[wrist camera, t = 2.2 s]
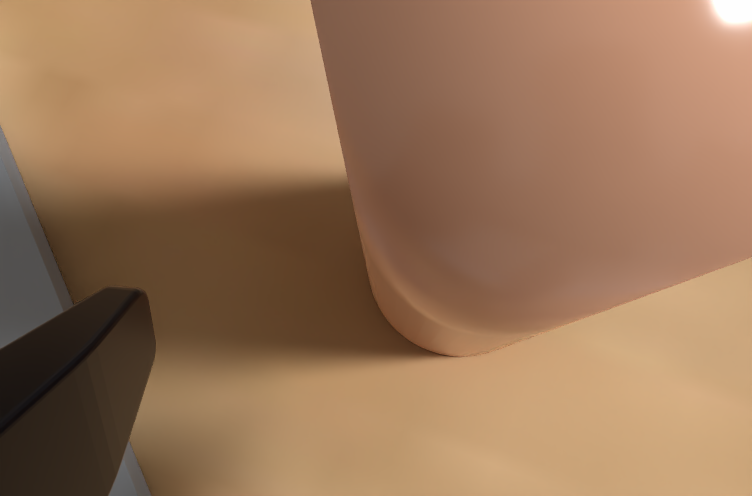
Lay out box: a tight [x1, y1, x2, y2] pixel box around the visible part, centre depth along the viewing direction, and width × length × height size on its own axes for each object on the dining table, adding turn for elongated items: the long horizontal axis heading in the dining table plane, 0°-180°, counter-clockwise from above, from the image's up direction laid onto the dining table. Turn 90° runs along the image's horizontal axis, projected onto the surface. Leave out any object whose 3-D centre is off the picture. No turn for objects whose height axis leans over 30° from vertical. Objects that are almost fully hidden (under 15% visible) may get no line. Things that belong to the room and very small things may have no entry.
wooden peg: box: [311, 0, 752, 357], centre depth 12 cm, size 5×5×14 cm
